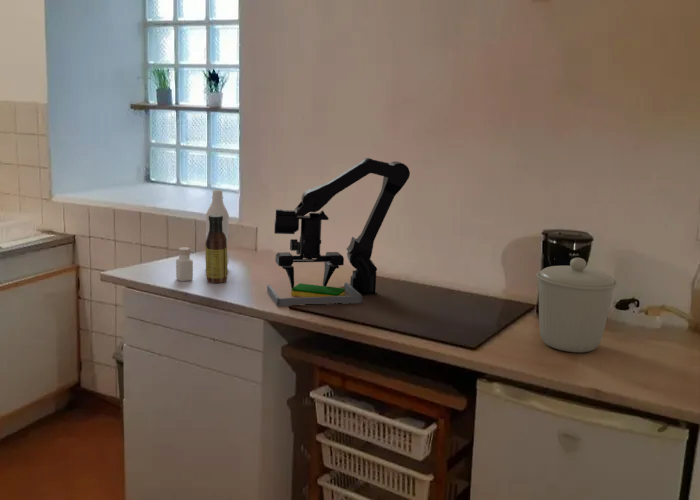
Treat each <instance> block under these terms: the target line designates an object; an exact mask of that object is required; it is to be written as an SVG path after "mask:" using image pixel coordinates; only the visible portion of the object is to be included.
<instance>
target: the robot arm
mask: <svg viewBox="0 0 700 500" xmlns="http://www.w3.org/2000/svg"><path fill="white" fill-rule="evenodd" d="M369 174H372V175H373V174H374V175H378V176H381V177H383V179H382V184H381V189H380V192H379V194H378V197H377V199H376V201H375V203H374V205H373V207H372V209H371V212H370V213H369V216H368V218H367V220H366V222H365V225H364V227H363V228H362V231H361V233H360V234H359V236H357V238H355V237H354V236H352V237H351V239H350V243H349V245H348V246H347V247H346V251H347V253H346V256H347V259H348V262H349V263H350V265H351V266H352V267H353V268H354V269H355V270H352V274H351V275H350V283H349V285H350V286H352V287H353V288H354V289H355V290H356V291H357V292H359V293H360V294H361V295H362V296H373V295H375V296H376V295H378V292H377V291H376V288H377V271H378V268H377V266H376V265H375V263H374V262H373V260H371V258H372V254H373V249H374V243H375V239H376V237H377V235H378V233H379V231H380V229H381V227H382V225H383V223H384V221H385V218H386V216H387V213H388V211H389V210H390V207H391V206H392V203H393V201H394V199H395V197H396V195H397V194H398V193H399V192H400V191H401V190H402V189H403V187H404V186H405V184H406V183H407V181H408V180H409V178H410V176H411V175H410V174H411V172H410V169H409V167H408V166H407V165H406V164H405V163H402V162H400V161H397V160H396V161H391V162H385V161H381V160H376V159H373V158H370V157H366V158H363V159H362V160H361V161H360V162H358V163H357V164H355V165H354V166H352V167H350V168H349V169H347V170H345V171H343V172H342V173H341V174H339V175H338V176H336V177H334V178H333V179H330V181H329V180H328V182H325V183H322V184H320V185H317V186H314V187H311V188H309V189H306V190H305V191H304V192H303V193H302V195H301V201H300V202H299V204H298V205H297V206H296V207H295V209H294V210H286V209H282V208H281V209H279V208H278V209H275V219H274V234H275V235H277V234H279V235H295V233H297V232H298V231H299V228H300V236H299V241H298V239H297V238H293V239H290V241H289V250H290V251H291V252H292V251H293V252H296V255H293V254H292V253H290V252H288V251H287V252H277V253H276V254H275V259H274V261H275V263H276V265H278V266H279V267H281V268H282V269H283V270H285V272H286V274H287V277H288V280H289V281H288V282H289V283H290V287H291V289H292V288H293V287H295V267H294V266H293V264H294V263H323V264H324V271H323V272H324V273H323V279H322V286H328V283H329V282H330V279H331V278H332V275H333V274H334V272H335V270H336V269H340V266H344V262H345V259H344V256H343V255H342V254H341V253H340V252H338V251H326V252H325V255H323V254H322V255H321V244H322V221H328V220H329V216H328V215H327V214H326V213H325V211H324V210H322V209H323V208H324V207H325V206H326V205H327V204H328V203H329V202H330V201H331V200H332V199H333V198H334V197H335V196H336V195H337V194H339V193H340V192H342V191H344V190H345V189H346V188H348V187H351V186H352V185H353V184H355V183H356V182H359V181H360V180H361V179H363V178H365V177H366V176H368V175H369ZM320 210H321V211H320ZM319 211H320V212H319ZM307 214H308V215H307ZM299 226H300V227H299Z"/></svg>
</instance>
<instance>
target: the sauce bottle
mask: <svg viewBox="0 0 700 500" xmlns="http://www.w3.org/2000/svg"><path fill="white" fill-rule="evenodd" d="M222 221H223V216H222V215H218V214H215V215H209V227H210V228H209V233H208V236H207V240H206V241H205V243H204V244H205V247H204V249H205V258H206V260H205V276H206V281H207V282H208V283H212V284H223V283H225V282H227V280H228V265H227V252H228V242H227V240H226V236H225V234H224V233H223V231H222V230H223V228H222Z"/></svg>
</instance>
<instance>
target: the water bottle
mask: <svg viewBox="0 0 700 500" xmlns="http://www.w3.org/2000/svg"><path fill="white" fill-rule="evenodd" d="M211 198H212V200H211V203H210V205H209V207H208V209H207V211H206V214H205V238H206V240H207V236H208V233H209V228H210V227H209V215H215V214H218V215H222V216H223V221H222V228H223V230H222V231H223V233H224V234H225V236H226V240H227V243H228V241H229V235H230V234H229V225H230V224H229V223H230V222H229V220H230V216H229V212H228V209H227V208H226V205H225V204H224V200H223V199H224V195H223V190H222V189H220V190H219V189H214V190H212V196H211ZM204 259H205V260H204V261H206V257H205V258H204ZM228 265H229V252H228V251H227V266H228Z"/></svg>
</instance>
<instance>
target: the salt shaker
mask: <svg viewBox="0 0 700 500" xmlns="http://www.w3.org/2000/svg"><path fill="white" fill-rule="evenodd" d="M190 255H191V248H190V247H183V246H182V247H179V248H178V258H177V259H176V260H175V264H176V265H175V269H176V270H175V271H176V273H175V277H176V279H177V280H178V281H179V282H189V281H193V278H194V277H193V275H194V273H193V271H194V266H193V265H194V263H193V259H192V258H191V257H190Z"/></svg>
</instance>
